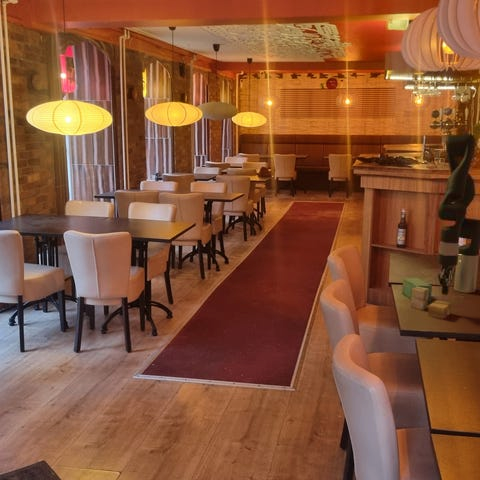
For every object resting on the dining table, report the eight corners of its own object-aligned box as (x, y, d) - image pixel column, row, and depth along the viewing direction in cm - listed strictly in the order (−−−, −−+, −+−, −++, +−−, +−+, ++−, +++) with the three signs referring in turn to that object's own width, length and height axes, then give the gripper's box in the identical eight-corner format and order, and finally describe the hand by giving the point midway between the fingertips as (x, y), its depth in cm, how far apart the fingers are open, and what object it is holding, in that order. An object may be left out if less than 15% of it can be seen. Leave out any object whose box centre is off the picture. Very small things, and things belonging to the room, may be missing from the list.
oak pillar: (436, 300, 249) (428, 305, 242) (451, 302, 246) (443, 308, 239) (435, 310, 250) (428, 316, 243) (450, 313, 247) (442, 319, 240)
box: (415, 302, 260) (416, 285, 259) (401, 293, 273) (402, 277, 272) (431, 302, 262) (432, 285, 260) (416, 293, 275) (417, 277, 273)
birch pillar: (415, 304, 257) (417, 286, 256) (427, 307, 254) (428, 288, 253) (410, 307, 254) (412, 289, 252) (422, 310, 250) (423, 291, 249)
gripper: (445, 248, 251) (441, 288, 254) (433, 254, 241) (429, 296, 244) (463, 251, 246) (459, 292, 250) (451, 257, 236) (448, 299, 240)
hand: (444, 294), depth 247 cm, fingers closed
